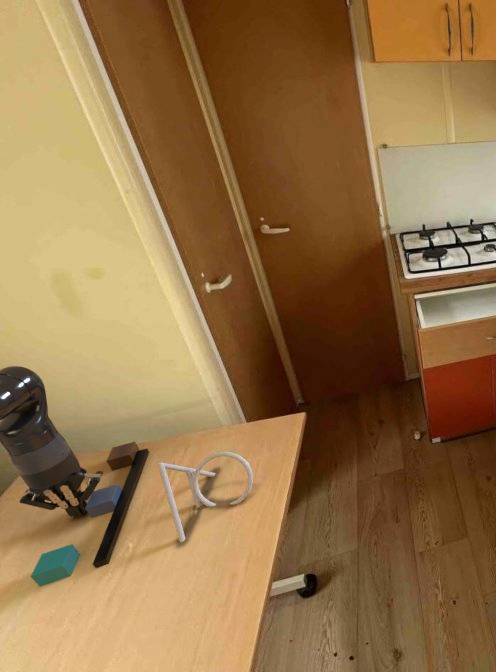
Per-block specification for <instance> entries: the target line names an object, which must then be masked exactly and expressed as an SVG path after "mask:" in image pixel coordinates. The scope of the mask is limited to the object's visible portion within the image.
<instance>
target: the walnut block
mask: <svg viewBox="0 0 496 672" xmlns="http://www.w3.org/2000/svg"><path fill="white" fill-rule="evenodd" d="M139 450H141V449H140V447H139V446H138V444H137V442H136V441H132V442H128V443H125V444H120V445H118V446H113V447H112V448H111V450H110V452H109V454H108V456H107V458H106V463H107V465H108V466H109V468H110V470H111V471H112V472H113V471H116V470H121V469H123V468H127V467H131V466H132V463H133V461H134V458H135V456H136V453H137V451H139Z"/></svg>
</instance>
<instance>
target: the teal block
mask: <svg viewBox="0 0 496 672" xmlns="http://www.w3.org/2000/svg"><path fill="white" fill-rule="evenodd" d="M80 556H81V553H80V552H79V550H77V548H76V547H75V546H74V544H72V543H71V544H68V545H65V546H63V547H59V548H56V549H53V550H50V551H46V552H44V553H41V555H40V556H39V559H38V561H37V563H36V564H35V567H34V569H33V571H32V573H31V575H30V578H31V579H32V580H33V581H34V582H35V583H36V584H37V585H38V587H43V586H46V585H50V584H52V583H54V582H58V581H60V580H63V579H66V578H69V577H72V574H73V572H74V570H75V568H76V565H77V563H78V561H79V559H80Z"/></svg>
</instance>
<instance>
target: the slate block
mask: <svg viewBox="0 0 496 672" xmlns="http://www.w3.org/2000/svg"><path fill="white" fill-rule="evenodd" d="M122 489H123V488H122V487H121V486H120V484H119V483H116V484H113V485H110V486H106V487H103V488H100V489H97V490H96V489H95V490H94V491H93V492H92V494H91V496H90V497H89V499H88V500H87V505H86V507H85V509H86V510H87V511H86V513H88V514H89V516H90V517H91V519H94V518H98V517H101V516H103V515H106V514H107V515H108V514H110V513H113V511H114V509H115V506H116V504H117V501H118V499H119V496H120V494H121V491H122Z"/></svg>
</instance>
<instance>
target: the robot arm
mask: <svg viewBox="0 0 496 672" xmlns="http://www.w3.org/2000/svg"><path fill="white" fill-rule="evenodd" d="M0 446H1V448H2V450H4V452H5V453H6V454H7V457H8V459H9V462H10V463H11V465H12V467H13V468H14V469H15V471H16V472H17V473H18V476H19V477H20V478H21V479H22V480H23V482H24V483H25V485H26V486H27V487H28V489H26V490H25V492H24V493H23V494H22V496H21V498H20V499H19V503H20V504H23V505H27V506H31V507H35V508H40V509H44V510H49V511H53V510H55V509H57V508H61V509H62V510H64V511H65V512H66V513H67V516H68V517H71V518H73V519H77V518H80V517H84V516H85V514H86V513H87V510H86V509H85V507H86V505H87V503H88V501H89V499H90V497H91V494H92V492H93V491H95V490H96V488H97V486H98V485H99V484H100V482H101V479H102V476H103V474H104V471H102V470H98V471H96V472H95V473H94V472H93V473H91V472H88V471H87V469H85V468H83V467H82V466H81V465H80V462H79V460H78V459H79V458H77V456H76V455H75V453H74V451H73V450H72V448H71V446H70V445H69V443H68V441H67V440H66V438H65V437H64V436H63V435H62V434H61V433H60V431H58V429H57V427H56V426H55V424H54V422H53V421H52V419H51V418H50V415H49V406H48V400H47V391H46V386H45V384H44V381H43V379H42V378H41V377H40V376H39V374H38V373H37V372H35V371H34V370H32V369H30V368H28V367H25V366H20V365H10V366H6V367H2V368H1V369H0ZM84 480H85V484H86V488H85V489H84V490H83V489H82V484H83V482H84Z"/></svg>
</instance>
